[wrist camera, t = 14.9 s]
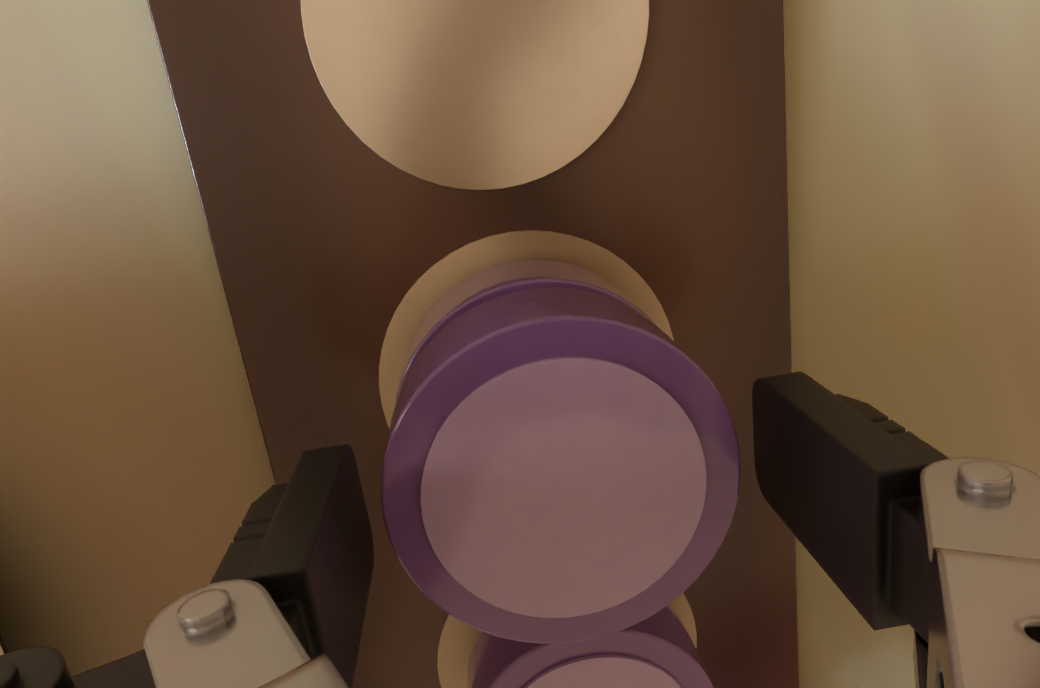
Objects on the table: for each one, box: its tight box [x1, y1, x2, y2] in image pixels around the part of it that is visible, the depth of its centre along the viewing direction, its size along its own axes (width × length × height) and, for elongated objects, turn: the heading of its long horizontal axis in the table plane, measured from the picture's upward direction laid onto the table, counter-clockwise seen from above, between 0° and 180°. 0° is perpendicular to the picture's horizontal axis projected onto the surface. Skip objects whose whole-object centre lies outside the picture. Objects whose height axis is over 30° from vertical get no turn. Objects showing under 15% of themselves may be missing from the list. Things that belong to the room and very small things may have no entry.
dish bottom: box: [395, 259, 653, 403], centre depth 15 cm, size 6×6×3 cm
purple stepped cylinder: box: [381, 287, 741, 644], centre depth 12 cm, size 6×6×3 cm
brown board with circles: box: [147, 0, 799, 688], centre depth 16 cm, size 12×22×1 cm, turn 8°
